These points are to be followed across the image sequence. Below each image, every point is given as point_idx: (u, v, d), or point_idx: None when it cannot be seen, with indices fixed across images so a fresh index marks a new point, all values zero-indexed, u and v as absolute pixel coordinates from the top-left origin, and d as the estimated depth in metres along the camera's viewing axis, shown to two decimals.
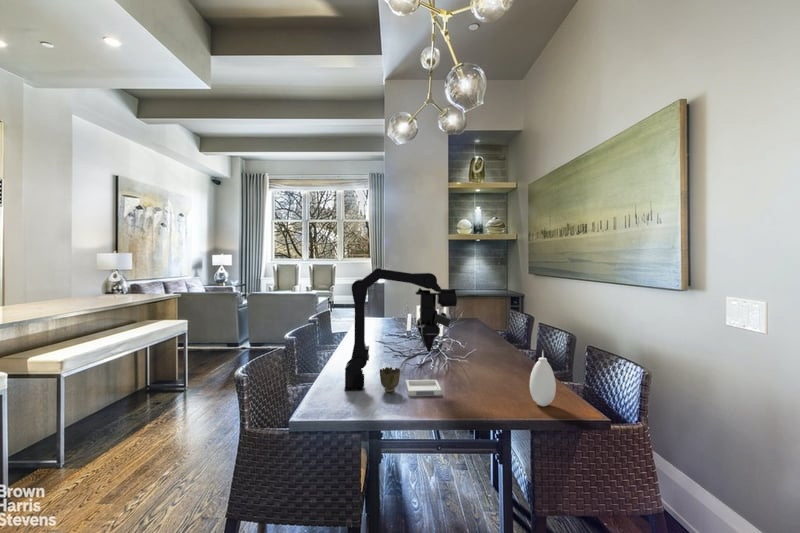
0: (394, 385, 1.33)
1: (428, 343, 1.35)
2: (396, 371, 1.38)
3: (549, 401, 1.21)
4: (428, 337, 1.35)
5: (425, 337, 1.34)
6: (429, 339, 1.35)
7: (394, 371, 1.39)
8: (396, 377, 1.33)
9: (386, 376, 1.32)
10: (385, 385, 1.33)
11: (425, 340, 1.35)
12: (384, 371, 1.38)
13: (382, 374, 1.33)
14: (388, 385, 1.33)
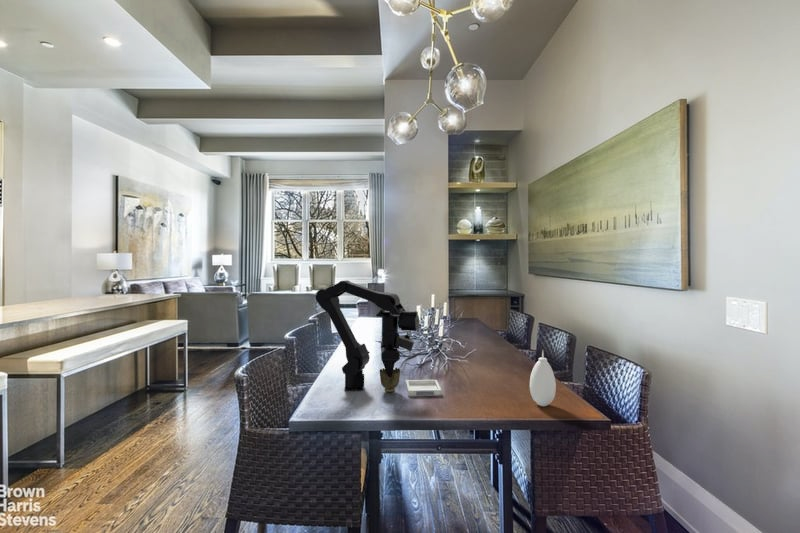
0: (394, 385, 1.33)
1: (388, 368, 1.30)
2: (396, 371, 1.38)
3: (549, 401, 1.21)
4: (388, 362, 1.30)
5: (385, 362, 1.29)
6: (389, 364, 1.30)
7: (394, 371, 1.39)
8: (396, 377, 1.33)
9: (386, 376, 1.32)
10: (385, 385, 1.33)
11: (385, 365, 1.29)
12: (384, 371, 1.38)
13: (382, 374, 1.33)
14: (388, 385, 1.33)
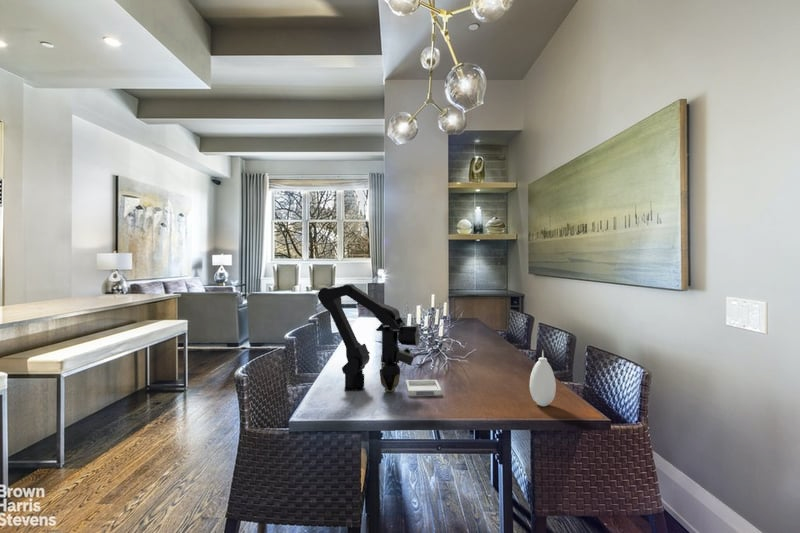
0: (394, 385, 1.33)
1: (389, 382, 1.31)
2: None
3: (549, 401, 1.21)
4: (389, 376, 1.31)
5: (385, 376, 1.30)
6: (390, 378, 1.31)
7: None
8: (396, 377, 1.33)
9: None
10: (385, 385, 1.33)
11: (385, 379, 1.31)
12: None
13: None
14: None
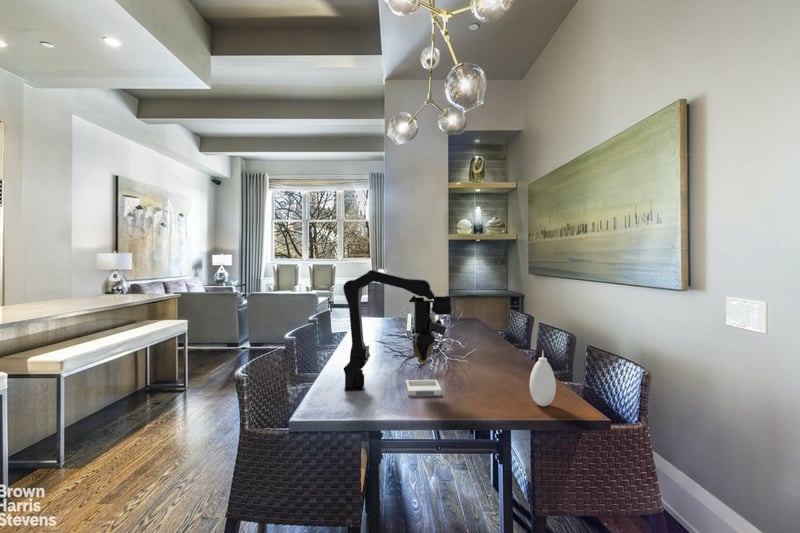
0: (427, 355, 1.35)
1: (422, 351, 1.33)
2: None
3: (549, 401, 1.21)
4: (422, 345, 1.33)
5: (419, 345, 1.32)
6: (423, 347, 1.33)
7: None
8: (429, 347, 1.34)
9: None
10: (418, 355, 1.34)
11: (419, 348, 1.32)
12: None
13: (415, 344, 1.34)
14: None
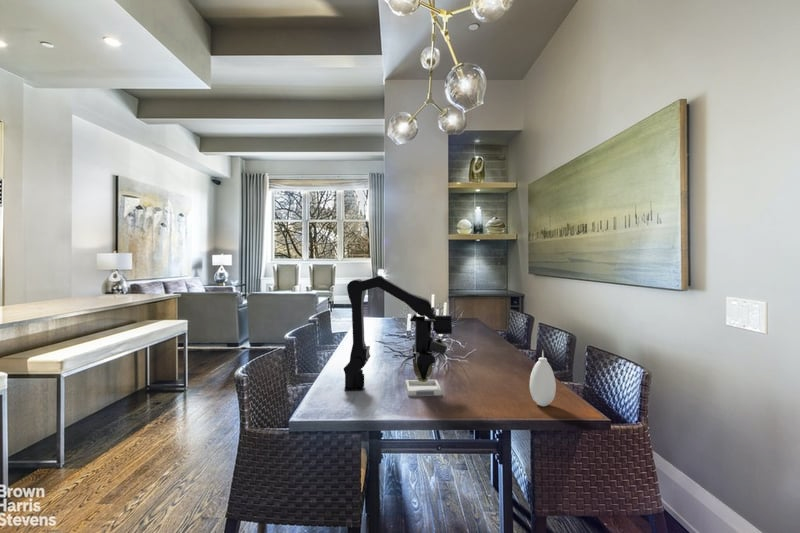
0: (428, 374, 1.35)
1: (423, 371, 1.33)
2: None
3: (549, 401, 1.21)
4: (423, 365, 1.33)
5: (420, 365, 1.32)
6: (424, 367, 1.33)
7: None
8: (430, 366, 1.35)
9: None
10: (419, 374, 1.35)
11: (420, 368, 1.32)
12: None
13: (416, 363, 1.35)
14: None
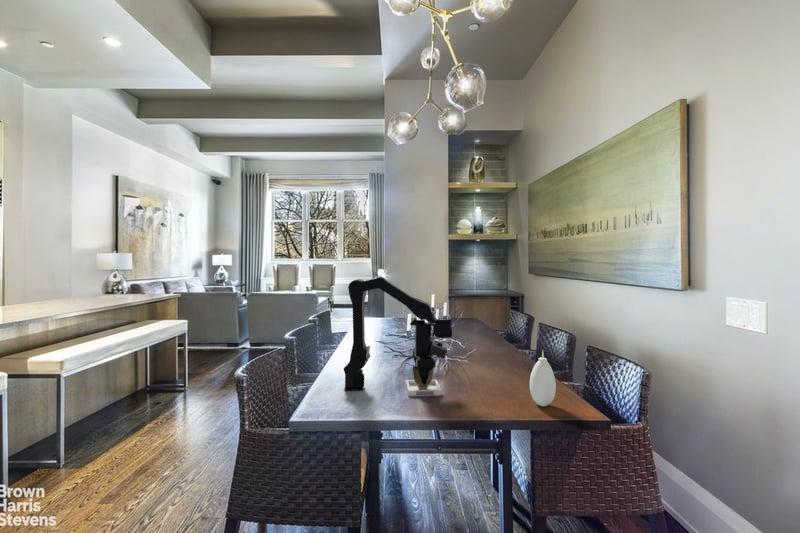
0: (428, 382, 1.35)
1: (423, 376, 1.32)
2: None
3: (549, 401, 1.21)
4: (423, 369, 1.32)
5: (420, 370, 1.31)
6: (424, 371, 1.32)
7: None
8: (430, 374, 1.35)
9: None
10: (419, 382, 1.35)
11: (420, 373, 1.31)
12: (416, 368, 1.40)
13: (416, 371, 1.35)
14: None
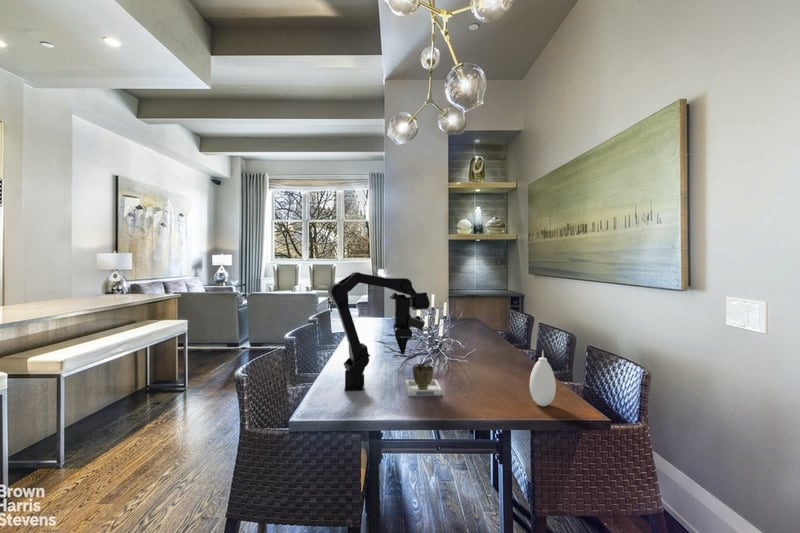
0: (428, 382, 1.35)
1: (402, 345, 1.41)
2: (428, 368, 1.40)
3: (549, 401, 1.21)
4: (402, 340, 1.41)
5: (398, 340, 1.40)
6: (402, 342, 1.41)
7: (426, 368, 1.40)
8: (430, 374, 1.35)
9: (420, 373, 1.34)
10: (419, 382, 1.35)
11: (399, 343, 1.40)
12: (417, 368, 1.40)
13: (416, 371, 1.35)
14: (422, 382, 1.34)
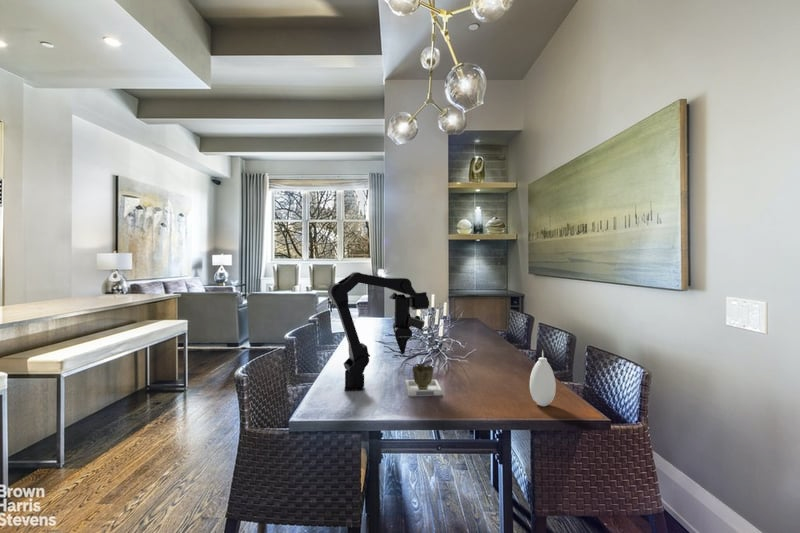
0: (428, 382, 1.35)
1: (401, 345, 1.41)
2: (428, 368, 1.40)
3: (549, 401, 1.21)
4: (401, 340, 1.41)
5: (398, 340, 1.40)
6: (402, 341, 1.41)
7: (426, 368, 1.40)
8: (430, 374, 1.35)
9: (420, 373, 1.34)
10: (419, 382, 1.35)
11: (398, 342, 1.41)
12: (416, 368, 1.40)
13: (416, 371, 1.35)
14: (422, 382, 1.34)
